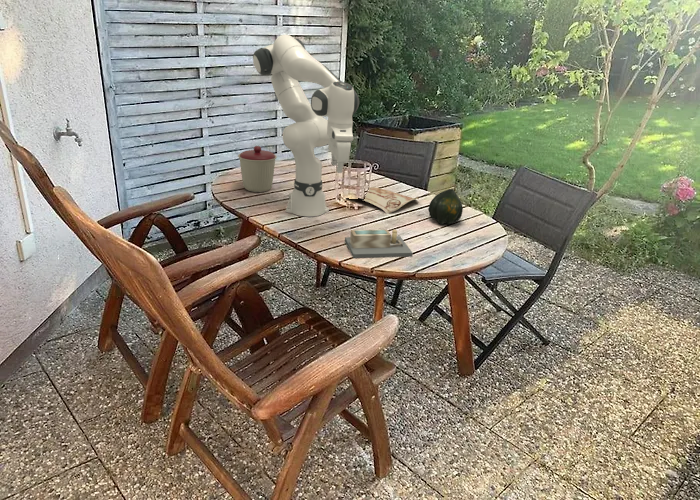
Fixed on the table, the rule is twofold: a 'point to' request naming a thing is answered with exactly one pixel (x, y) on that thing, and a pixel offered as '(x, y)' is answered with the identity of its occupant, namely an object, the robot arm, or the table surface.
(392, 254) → the board
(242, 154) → the canister
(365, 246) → the frame
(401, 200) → the poster
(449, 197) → the squash
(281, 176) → the table surface
